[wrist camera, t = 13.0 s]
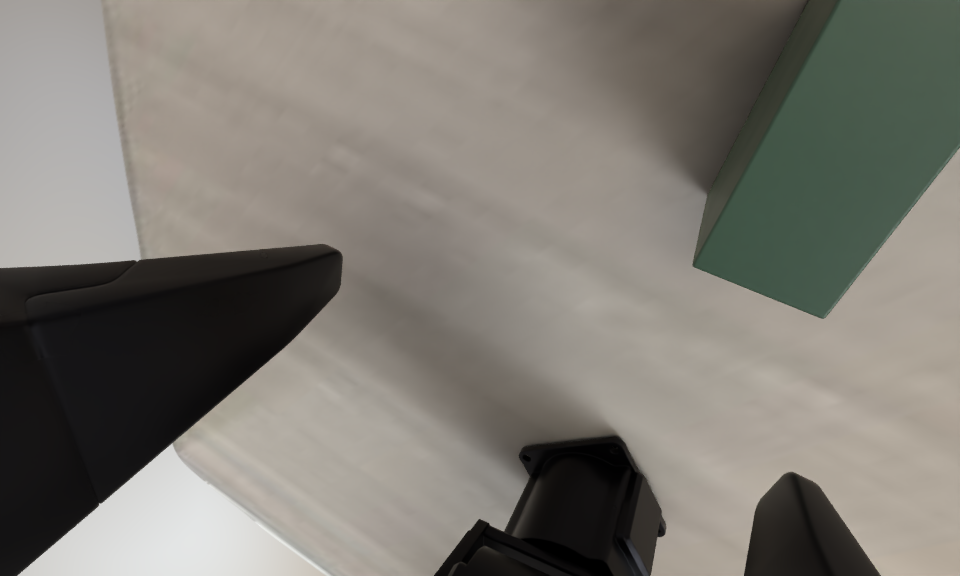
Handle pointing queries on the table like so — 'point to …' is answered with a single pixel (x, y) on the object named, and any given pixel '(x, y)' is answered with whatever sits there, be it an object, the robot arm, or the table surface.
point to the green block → (835, 149)
